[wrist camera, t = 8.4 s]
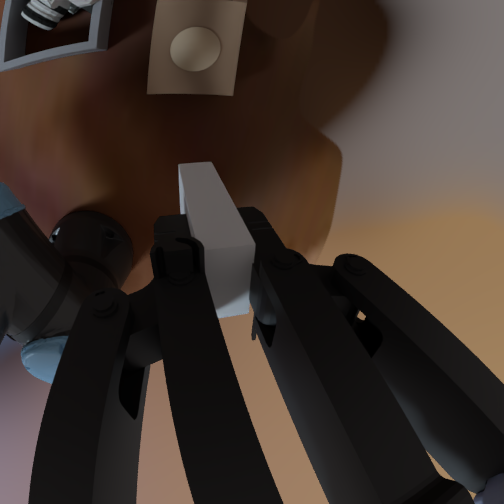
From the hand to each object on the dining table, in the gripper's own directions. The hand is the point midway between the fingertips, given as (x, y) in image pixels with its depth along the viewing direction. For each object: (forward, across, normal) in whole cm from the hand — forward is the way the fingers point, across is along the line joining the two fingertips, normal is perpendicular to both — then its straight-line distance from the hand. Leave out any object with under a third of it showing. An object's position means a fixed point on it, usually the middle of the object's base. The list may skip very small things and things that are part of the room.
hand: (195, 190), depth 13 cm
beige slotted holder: (+26, +2, +13) cm, 29 cm away
